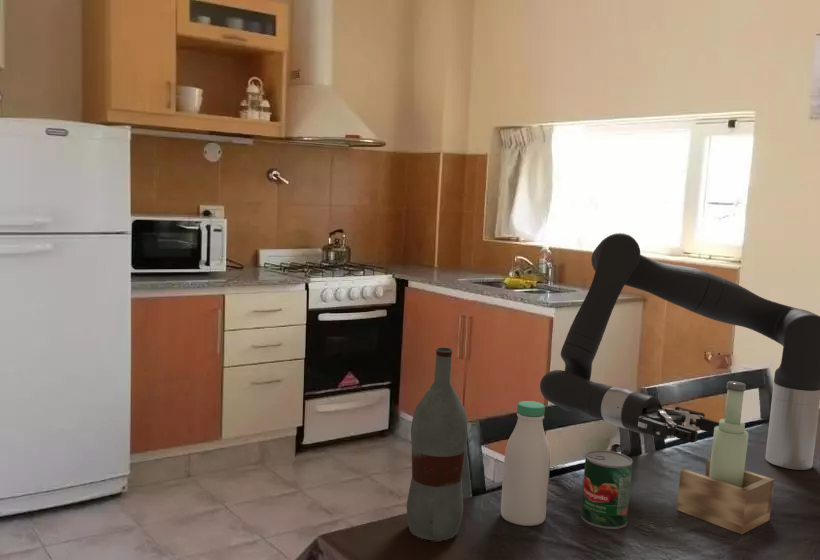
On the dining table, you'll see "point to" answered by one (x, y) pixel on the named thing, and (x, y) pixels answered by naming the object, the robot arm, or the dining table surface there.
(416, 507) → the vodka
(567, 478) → the dining table surface
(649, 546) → the dining table surface
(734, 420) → the glass bottle
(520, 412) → the milk bottle
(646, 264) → the robot arm
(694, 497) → the cradle
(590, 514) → the canned tomato
